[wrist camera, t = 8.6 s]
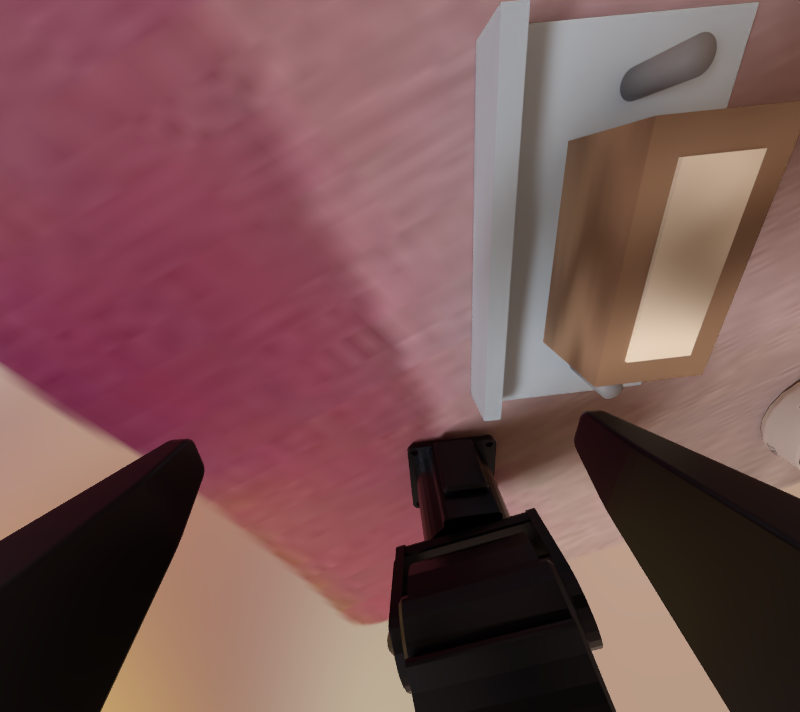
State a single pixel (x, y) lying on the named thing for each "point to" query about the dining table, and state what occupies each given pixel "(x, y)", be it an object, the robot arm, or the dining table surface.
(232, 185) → the dining table surface
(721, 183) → the brown wooden block
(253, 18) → the dining table surface
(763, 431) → the supplement can
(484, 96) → the ledge
